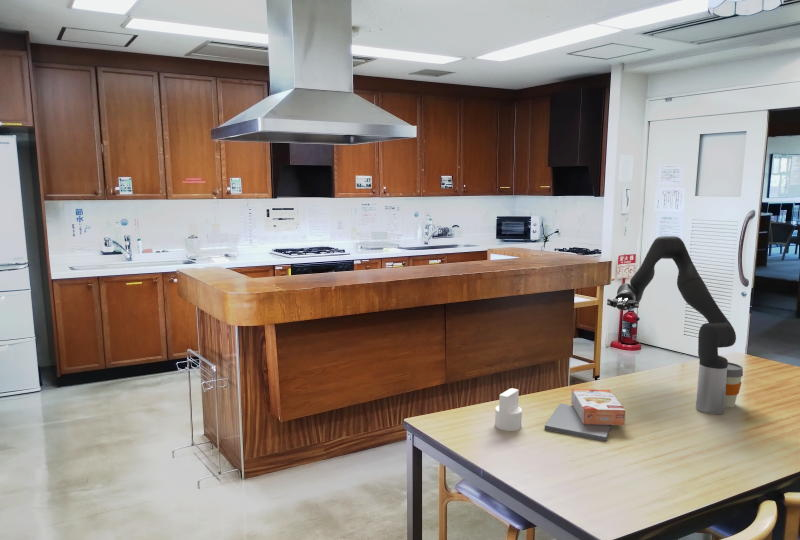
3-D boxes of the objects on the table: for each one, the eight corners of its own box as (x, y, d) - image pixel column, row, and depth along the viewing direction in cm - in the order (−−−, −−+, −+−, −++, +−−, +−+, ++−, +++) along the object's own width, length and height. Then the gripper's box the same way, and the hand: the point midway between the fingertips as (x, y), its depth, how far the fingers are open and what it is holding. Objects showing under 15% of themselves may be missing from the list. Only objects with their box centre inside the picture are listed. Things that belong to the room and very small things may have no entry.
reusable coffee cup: (746, 409, 220) (750, 370, 218) (712, 408, 221) (716, 369, 219) (728, 397, 233) (732, 361, 231) (696, 397, 233) (700, 360, 231)
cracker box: (609, 388, 220) (626, 409, 199) (608, 403, 221) (625, 426, 200) (571, 387, 221) (584, 408, 200) (570, 402, 222) (583, 425, 201)
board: (615, 416, 212) (616, 413, 212) (605, 441, 192) (606, 437, 191) (559, 407, 221) (559, 403, 221) (544, 429, 201) (544, 425, 201)
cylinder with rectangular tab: (514, 433, 198) (515, 398, 196) (490, 426, 203) (491, 393, 202) (525, 424, 205) (527, 391, 203) (502, 418, 210) (503, 386, 209)
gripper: (609, 289, 252) (603, 296, 237) (642, 292, 246) (638, 299, 231) (608, 307, 253) (602, 314, 238) (641, 310, 247) (637, 317, 232)
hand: (620, 306), depth 235 cm, fingers closed
